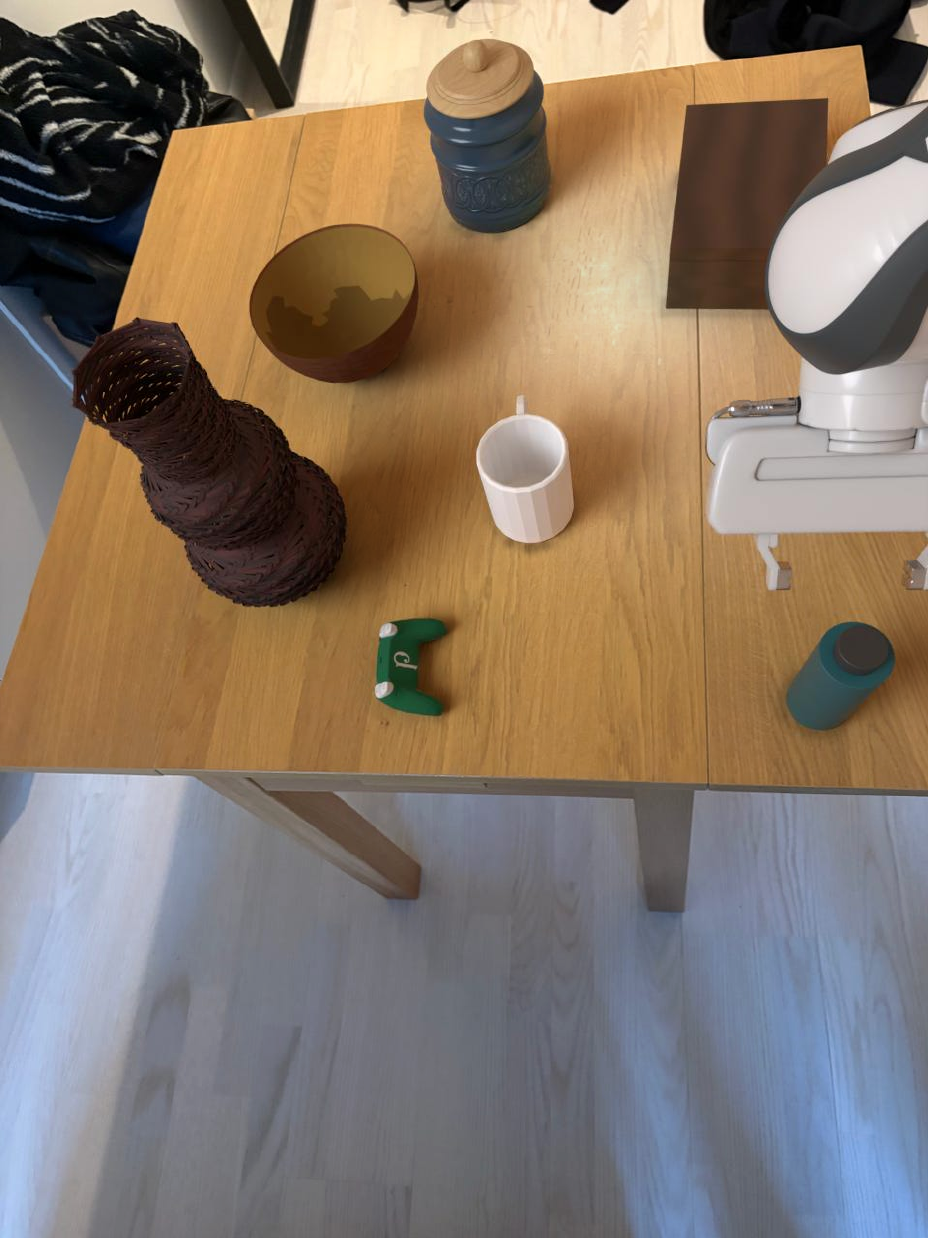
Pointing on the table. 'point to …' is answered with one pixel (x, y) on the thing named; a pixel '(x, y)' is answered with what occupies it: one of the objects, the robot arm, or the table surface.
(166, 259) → the table surface
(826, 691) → the bottle
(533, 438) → the mug
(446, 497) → the table surface
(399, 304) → the bowl
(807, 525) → the robot arm
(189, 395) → the vase
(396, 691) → the gaming controller
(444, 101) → the canister
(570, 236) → the table surface
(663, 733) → the table surface
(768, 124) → the wooden box
